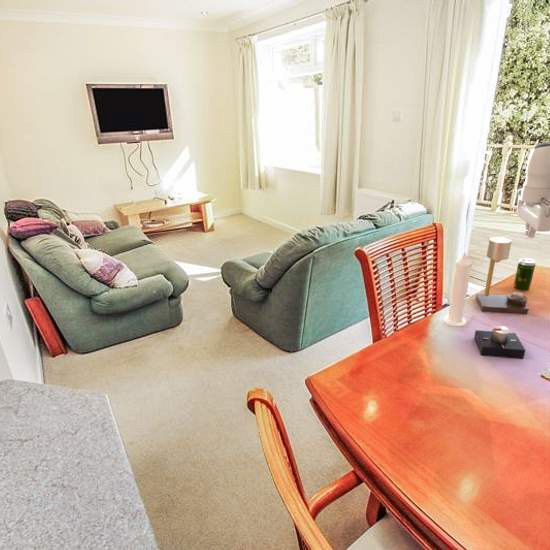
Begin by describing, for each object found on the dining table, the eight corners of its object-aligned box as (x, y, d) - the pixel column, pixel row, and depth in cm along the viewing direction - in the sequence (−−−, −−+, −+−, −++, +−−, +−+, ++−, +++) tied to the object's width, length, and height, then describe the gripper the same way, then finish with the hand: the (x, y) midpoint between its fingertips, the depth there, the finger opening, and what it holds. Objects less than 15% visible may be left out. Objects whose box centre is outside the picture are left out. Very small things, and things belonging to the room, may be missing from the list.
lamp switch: (520, 296, 132) (521, 291, 131) (523, 300, 129) (524, 295, 129) (511, 295, 133) (512, 291, 132) (513, 299, 130) (514, 295, 129)
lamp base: (520, 301, 136) (522, 291, 134) (529, 314, 127) (532, 304, 126) (475, 298, 140) (477, 289, 138) (481, 312, 131) (483, 301, 129)
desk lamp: (497, 292, 135) (508, 236, 126) (502, 300, 129) (514, 243, 121) (478, 291, 137) (487, 236, 128) (482, 299, 131) (492, 242, 122)
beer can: (528, 287, 145) (534, 258, 140) (530, 293, 141) (537, 263, 136) (512, 285, 147) (518, 257, 142) (513, 291, 143) (519, 262, 138)
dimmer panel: (513, 341, 114) (515, 332, 113) (523, 359, 106) (525, 349, 105) (474, 338, 117) (475, 329, 116) (480, 355, 109) (482, 346, 108)
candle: (455, 329, 122) (466, 258, 112) (438, 319, 128) (447, 251, 118) (471, 323, 125) (483, 253, 115) (454, 314, 131) (463, 247, 121)
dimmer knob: (503, 335, 112) (505, 324, 111) (510, 343, 108) (513, 332, 107) (488, 335, 113) (490, 324, 111) (495, 343, 109) (497, 332, 107)
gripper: (563, 202, 109) (553, 247, 115) (537, 188, 127) (529, 227, 133) (538, 203, 111) (529, 246, 116) (516, 189, 129) (509, 227, 134)
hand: (529, 236), depth 125 cm, fingers closed
